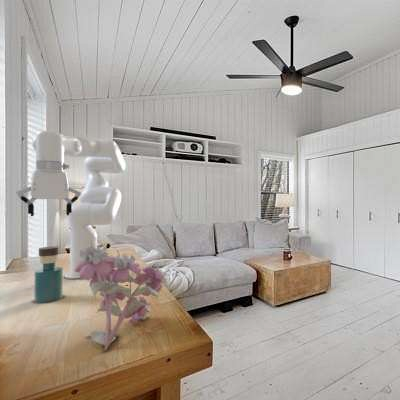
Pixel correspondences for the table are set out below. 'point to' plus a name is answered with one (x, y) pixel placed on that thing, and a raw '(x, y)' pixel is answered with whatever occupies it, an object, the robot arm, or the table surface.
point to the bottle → (48, 280)
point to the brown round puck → (48, 251)
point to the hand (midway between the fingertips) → (50, 215)
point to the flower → (117, 287)
